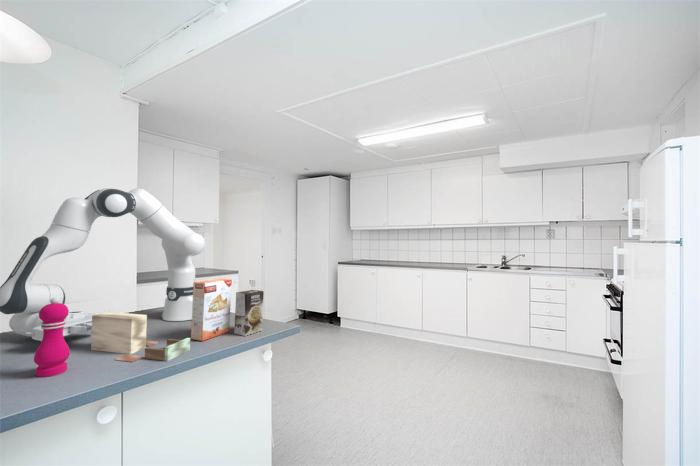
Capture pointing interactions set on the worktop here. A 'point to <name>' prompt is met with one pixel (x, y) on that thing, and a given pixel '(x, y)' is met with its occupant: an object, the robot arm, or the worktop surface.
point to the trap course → (161, 351)
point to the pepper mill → (52, 340)
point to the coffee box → (248, 312)
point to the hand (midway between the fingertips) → (89, 328)
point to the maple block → (118, 332)
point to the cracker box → (210, 308)
